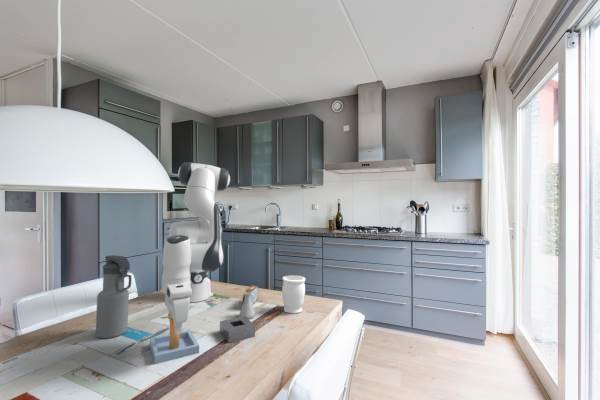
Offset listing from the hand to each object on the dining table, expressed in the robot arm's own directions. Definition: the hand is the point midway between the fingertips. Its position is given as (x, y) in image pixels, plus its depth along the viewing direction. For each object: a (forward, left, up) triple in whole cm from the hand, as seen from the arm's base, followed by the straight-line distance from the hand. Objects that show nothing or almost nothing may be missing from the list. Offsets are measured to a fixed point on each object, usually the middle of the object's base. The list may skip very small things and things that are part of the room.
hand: (174, 326), depth 96 cm
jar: (-10, +53, -8) cm, 54 cm away
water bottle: (-23, -17, -8) cm, 30 cm away
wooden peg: (0, 0, -7) cm, 7 cm away
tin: (-26, +39, -8) cm, 48 cm away
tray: (0, 0, -7) cm, 7 cm away
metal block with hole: (0, +22, -7) cm, 23 cm away
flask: (-14, +32, -8) cm, 36 cm away
